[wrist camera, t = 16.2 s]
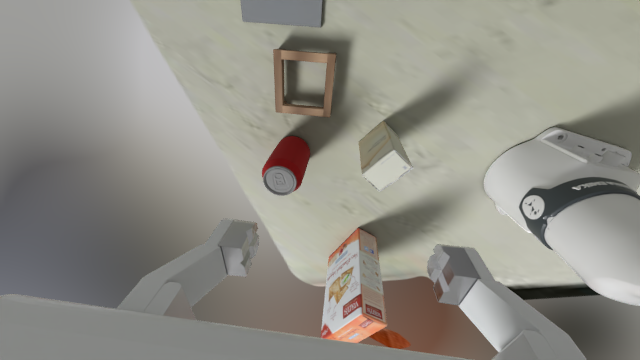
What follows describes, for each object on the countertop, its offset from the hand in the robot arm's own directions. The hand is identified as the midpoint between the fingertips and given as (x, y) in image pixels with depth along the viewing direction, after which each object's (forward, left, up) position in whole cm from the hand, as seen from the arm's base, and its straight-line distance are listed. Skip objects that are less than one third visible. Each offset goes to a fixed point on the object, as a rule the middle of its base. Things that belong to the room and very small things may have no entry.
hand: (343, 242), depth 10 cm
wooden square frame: (+7, -1, -34) cm, 35 cm away
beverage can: (+9, +12, -34) cm, 38 cm away
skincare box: (-7, +8, -34) cm, 36 cm away
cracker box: (-6, +38, -34) cm, 52 cm away
